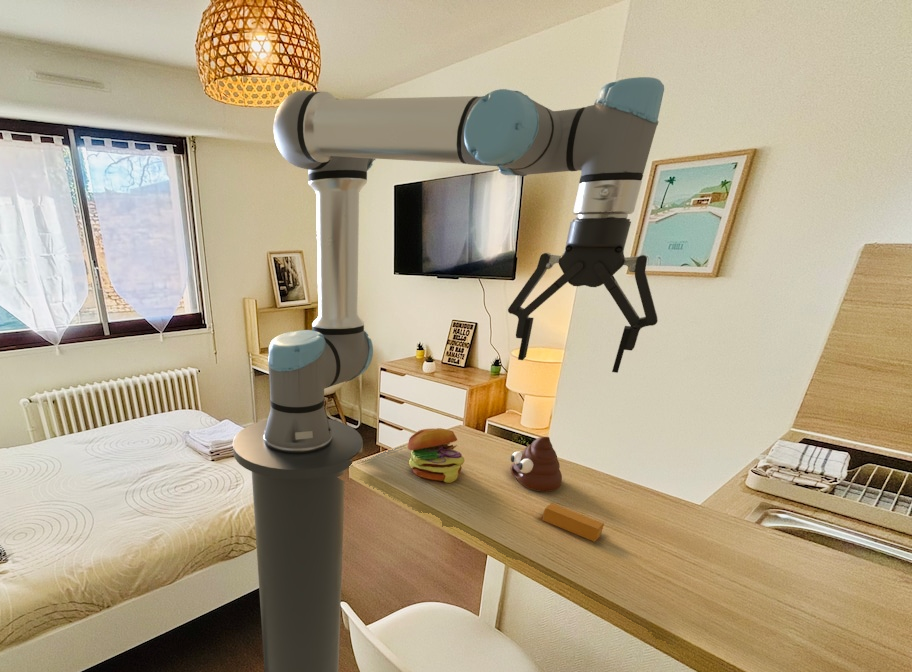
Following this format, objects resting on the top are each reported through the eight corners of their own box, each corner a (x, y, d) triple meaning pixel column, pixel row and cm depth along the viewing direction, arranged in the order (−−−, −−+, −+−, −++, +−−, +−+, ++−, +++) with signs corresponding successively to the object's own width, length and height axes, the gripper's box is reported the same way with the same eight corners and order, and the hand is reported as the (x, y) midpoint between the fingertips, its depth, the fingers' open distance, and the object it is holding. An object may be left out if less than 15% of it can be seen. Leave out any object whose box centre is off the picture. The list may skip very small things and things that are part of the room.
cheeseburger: (431, 490, 85) (428, 436, 82) (398, 477, 94) (394, 429, 92) (474, 478, 88) (472, 426, 86) (438, 467, 98) (436, 420, 96)
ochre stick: (541, 520, 76) (545, 507, 75) (548, 514, 78) (551, 502, 77) (594, 542, 71) (598, 529, 70) (600, 535, 72) (604, 523, 71)
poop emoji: (570, 492, 84) (583, 445, 80) (524, 494, 83) (535, 447, 79) (540, 467, 93) (551, 423, 89) (499, 468, 92) (508, 425, 88)
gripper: (503, 217, 69) (481, 358, 79) (715, 215, 57) (659, 382, 66) (514, 218, 75) (493, 349, 84) (709, 216, 63) (659, 370, 72)
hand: (566, 364), depth 75 cm, fingers open, 13 cm apart
